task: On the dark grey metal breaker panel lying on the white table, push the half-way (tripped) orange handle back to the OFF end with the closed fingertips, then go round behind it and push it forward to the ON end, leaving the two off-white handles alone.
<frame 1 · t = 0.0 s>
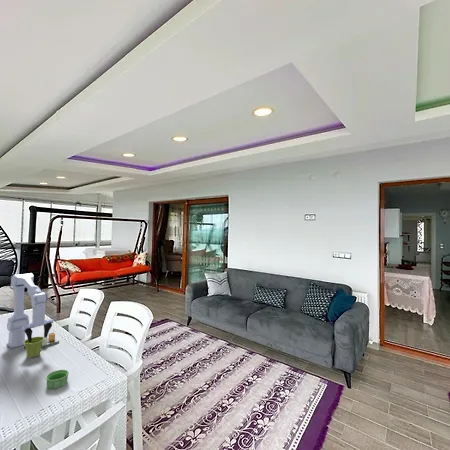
hand: (37, 339, 146), 10 cm above the table, fingers open, 7 cm apart
plant pot: (33, 355, 149), on the table
ramekin: (57, 384, 122), on the table
breaker white 2: (44, 340, 160), point 4 cm above the table, slide at 5.0 cm
breaker white 1: (34, 343, 156), point 4 cm above the table, slide at 5.0 cm
breaker orange: (51, 336, 166), point 4 cm above the table, slide at 2.5 cm
panel: (41, 345, 162), on the table
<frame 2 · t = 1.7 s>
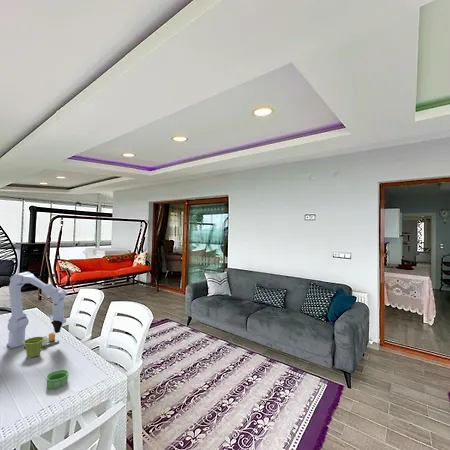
hand: (57, 332, 162), 8 cm above the table, fingers closed
nothing on the table moved.
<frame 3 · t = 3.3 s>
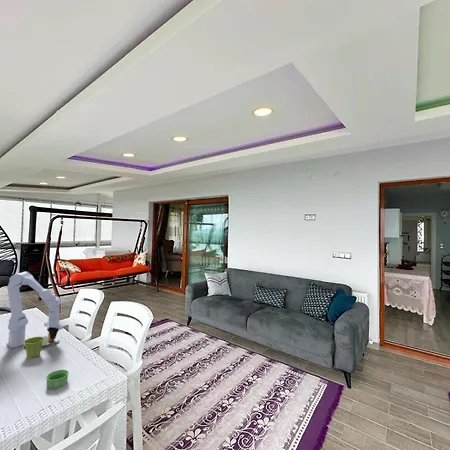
hand: (53, 339, 165), 3 cm above the table, fingers closed
breaker orange: (51, 336, 166), point 4 cm above the table, slide at 1.5 cm, touching gripper
everything else where it was.
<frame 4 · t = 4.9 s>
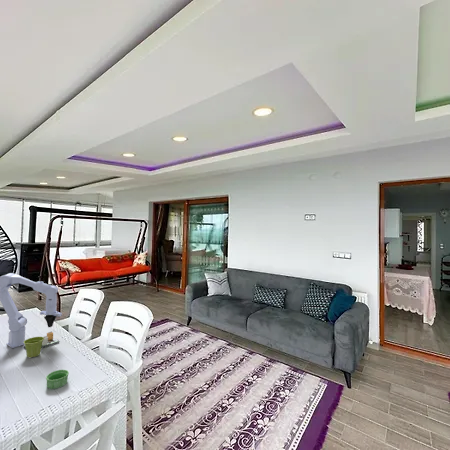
hand: (50, 326, 167), 9 cm above the table, fingers closed
breaker orange: (49, 335, 167), point 4 cm above the table, slide at -0.1 cm
everything else where it was.
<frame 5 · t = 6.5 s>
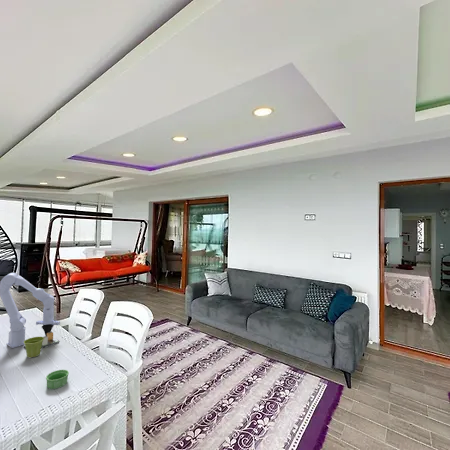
hand: (47, 335, 169), 3 cm above the table, fingers closed
breaker orange: (50, 335, 167), point 4 cm above the table, slide at 0.0 cm, touching gripper
everything else where it was.
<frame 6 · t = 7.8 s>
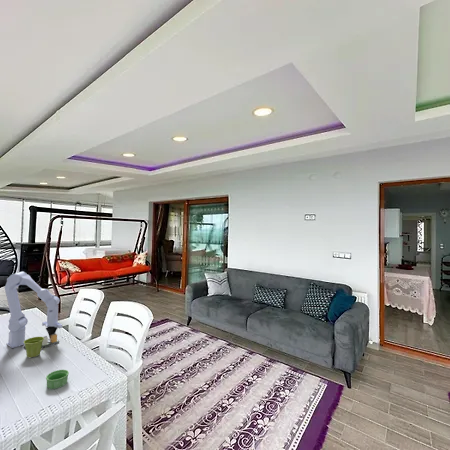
hand: (51, 338, 166), 3 cm above the table, fingers closed
breaker orange: (53, 337, 164), point 4 cm above the table, slide at 5.2 cm, touching gripper
everything else where it was.
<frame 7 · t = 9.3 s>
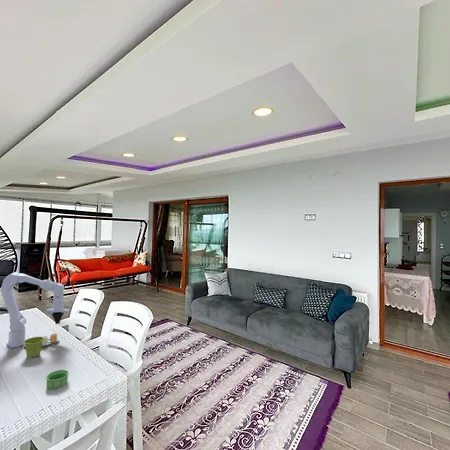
hand: (57, 323, 171), 10 cm above the table, fingers closed
breaker orange: (53, 337, 164), point 4 cm above the table, slide at 5.1 cm
everything else where it was.
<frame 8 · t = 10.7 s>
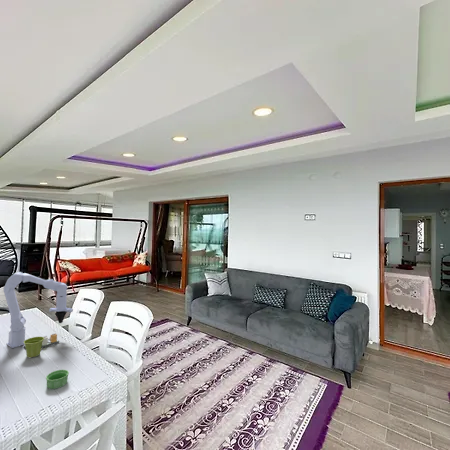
hand: (60, 322, 173), 10 cm above the table, fingers closed
nothing on the table moved.
at the end: breaker orange slide at 5.1 cm; breaker white 2 slide at 5.0 cm; breaker white 1 slide at 5.0 cm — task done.
